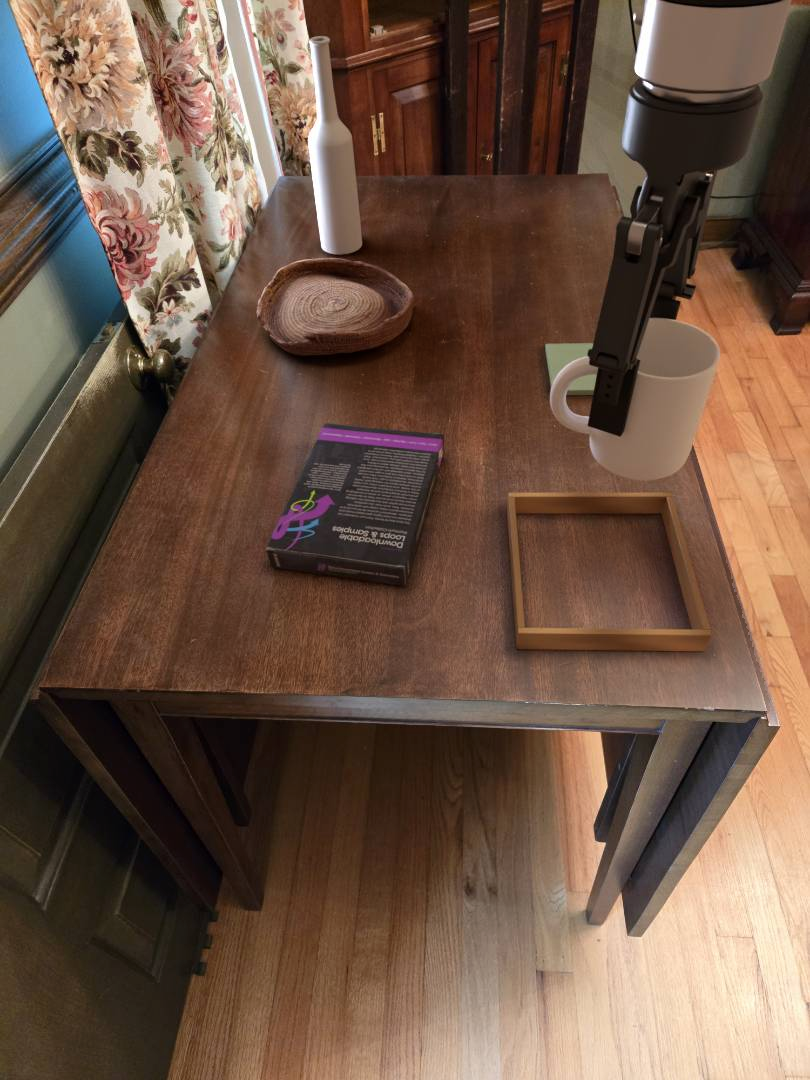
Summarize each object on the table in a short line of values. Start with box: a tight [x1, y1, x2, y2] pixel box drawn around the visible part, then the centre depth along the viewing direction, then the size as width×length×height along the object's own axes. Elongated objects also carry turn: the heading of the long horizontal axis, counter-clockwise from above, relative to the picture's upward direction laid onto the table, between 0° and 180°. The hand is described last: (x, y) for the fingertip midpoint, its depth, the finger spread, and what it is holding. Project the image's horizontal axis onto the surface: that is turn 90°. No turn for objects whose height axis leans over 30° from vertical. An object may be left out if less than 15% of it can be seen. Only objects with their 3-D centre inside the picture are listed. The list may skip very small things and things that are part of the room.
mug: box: [549, 318, 721, 482], centre depth 59 cm, size 12×8×10 cm
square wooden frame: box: [506, 492, 713, 652], centre depth 68 cm, size 16×17×2 cm
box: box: [265, 422, 445, 587], centre depth 75 cm, size 14×4×20 cm
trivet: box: [544, 342, 597, 396], centre depth 90 cm, size 10×10×1 cm
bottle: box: [307, 35, 363, 256], centre depth 106 cm, size 7×7×28 cm
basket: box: [256, 257, 415, 357], centre depth 99 cm, size 22×20×5 cm
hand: (626, 397), depth 59 cm, fingers closed on mug, 8 cm apart
